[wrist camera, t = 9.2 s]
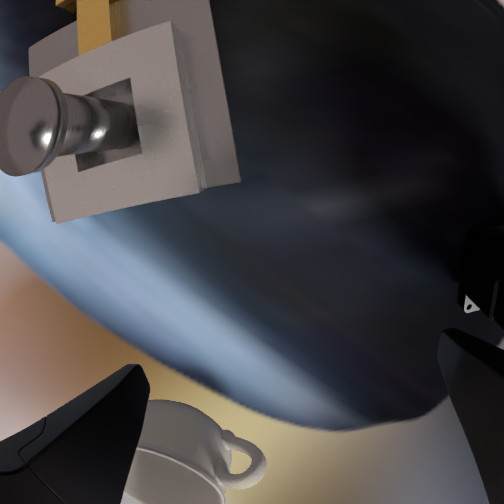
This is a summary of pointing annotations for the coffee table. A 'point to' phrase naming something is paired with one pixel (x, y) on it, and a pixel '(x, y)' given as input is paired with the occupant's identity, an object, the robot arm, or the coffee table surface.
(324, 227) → the coffee table surface
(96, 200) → the knob backplate
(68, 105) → the pin
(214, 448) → the teacup
